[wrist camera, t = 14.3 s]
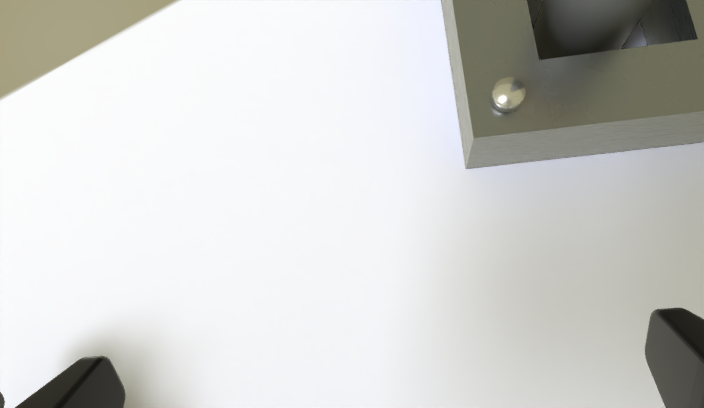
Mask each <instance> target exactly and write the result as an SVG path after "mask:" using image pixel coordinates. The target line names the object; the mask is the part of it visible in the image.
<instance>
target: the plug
mask: <svg viewBox="0 0 704 408" xmlns="http://www.w3.org/2000/svg"><path fill="white" fill-rule="evenodd" d="M651 2H652V0H543V3H542V6H541V8H540V11H539V14H538V17H537V20H536V23H535V26H534V29H533V33H534V38H535V42H536V47H537V52H538V55H539V57H540V58H541V59H542V60H544V59H551V58H559V57H567V56H574V55H582V54H589V53H597V52H604V51H612V50H620V49H621V48H622V46H623V44H624V43H625V41H626V40H627V38H628V37H629V35H630V34H631V32H632V31H633V29H634V28H635V26H636V25H637V23H638V22H639V20H640V19H641V17H642V16H643V14H644V13H645V11H646V10H647V8H648V6H649V5H650V3H651Z"/></svg>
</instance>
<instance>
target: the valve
mask: <svg viewBox="0 0 704 408" xmlns="http://www.w3.org/2000/svg"><path fill="white" fill-rule="evenodd" d="M4 404H5V401H4V397H3V395H2V394H1V392H0V408H4Z"/></svg>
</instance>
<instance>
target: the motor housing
mask: <svg viewBox="0 0 704 408" xmlns="http://www.w3.org/2000/svg"><path fill="white" fill-rule="evenodd" d="M441 3H442V10H443V17H444V23H445V30H446V37H447V44H448V51H449V57H450V64H451V71H452V78H453V85H454V91H455V98H456V105H457V112H458V118H459V125H460V132H461V139H462V146H463V152H464V159H465V166H466V169H470V168H479V167H488V166H497V165H505V164H514V163H523V162H532V161H541V160H550V159H559V158H568V157H576V156H585V155H594V154H603V153H612V152H621V151H630V150H638V149H647V148H656V147H665V146H674V145H683V144H692V143H701V142H704V0H652V2H651V3H650V5H649V6H648V8H647V10H646V11H645V13H644V14H643V16H642V17H641V23H642V27H643V30H644V34H645V38H646V41H647V45H648V46H642V47H635V48H627V49H620V50H612V51H604V52H597V53H589V54H582V55H574V56H567V57H559V58H551V59H544V60H539V57H538V52H537V47H536V42H535V38H534V33H533V28H532V23H531V18H530V13H529V8H528V3H527V0H441Z"/></svg>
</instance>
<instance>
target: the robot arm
mask: <svg viewBox="0 0 704 408" xmlns="http://www.w3.org/2000/svg"><path fill="white" fill-rule="evenodd" d="M645 356H646V360H647V363H648V366H649V368H650V371H651V373H652V376H653V378H654V381H655V383H656V385H657V388H658V390H659V393H660V395H661V397H662V400H663V402H664V405H665V407H666V408H704V319H702V318H700V317H699V316H697V315H695V314H693V313H691V312H690V311H688V310H686V309H683V308H667V309H657V310H655V311H653V313H652V314H651V317H650V322H649V328H648V333H647V339H646V345H645ZM124 403H125V390H124V387H123V385H122V383H121V381H120V379H119V377H118V375H117V373H116V371H115V369H114V367H113V365H112V363H111V361H110V359H108V358H107V357H105V356H95V357H85V358H82V359H80V360H78V361H77V362H75V363H74V364H73V365H71V366H70V367H69V368H67V369H66V370H65V371H63V372H62V373H61V374H59V375H58V376H57V377H55V378H54V379H53V380H51V381H50V382H49V383H47V384H46V385H45V386H43V387H42V388H41V389H39V390H38V391H37V392H35V393H34V394H32V395H31V396H30V397H28V398H27V399H26V400H24V401H23V402H22V403H20V404H19V405H18V406H16V407H15V408H123V407H124Z"/></svg>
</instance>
